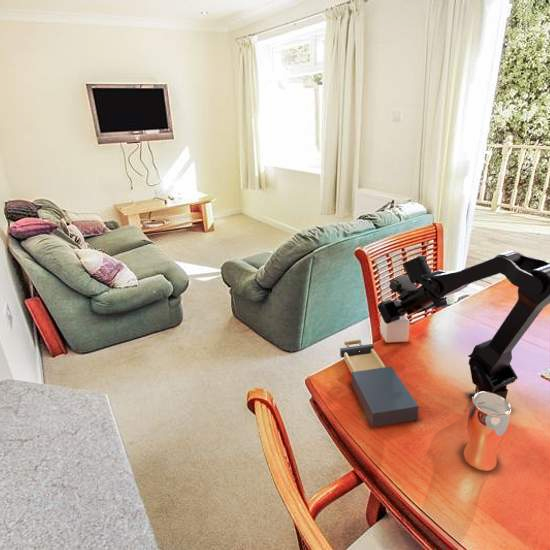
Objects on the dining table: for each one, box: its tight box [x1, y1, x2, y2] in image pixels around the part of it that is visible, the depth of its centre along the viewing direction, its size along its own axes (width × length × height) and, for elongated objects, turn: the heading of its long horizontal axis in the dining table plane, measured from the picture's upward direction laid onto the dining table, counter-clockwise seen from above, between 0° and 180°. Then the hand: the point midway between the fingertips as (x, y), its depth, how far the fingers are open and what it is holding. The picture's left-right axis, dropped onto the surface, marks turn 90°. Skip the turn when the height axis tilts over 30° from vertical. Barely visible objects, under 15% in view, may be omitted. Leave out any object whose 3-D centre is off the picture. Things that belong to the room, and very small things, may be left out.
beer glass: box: [463, 392, 512, 472], centre depth 75 cm, size 7×7×15 cm
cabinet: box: [350, 366, 420, 428], centre depth 94 cm, size 15×11×4 cm
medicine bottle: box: [379, 300, 411, 343], centre depth 118 cm, size 7×7×12 cm
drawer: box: [339, 339, 386, 375], centre depth 108 cm, size 18×10×3 cm, turn 8°
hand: (393, 313), depth 119 cm, fingers closed on medicine bottle, 6 cm apart
